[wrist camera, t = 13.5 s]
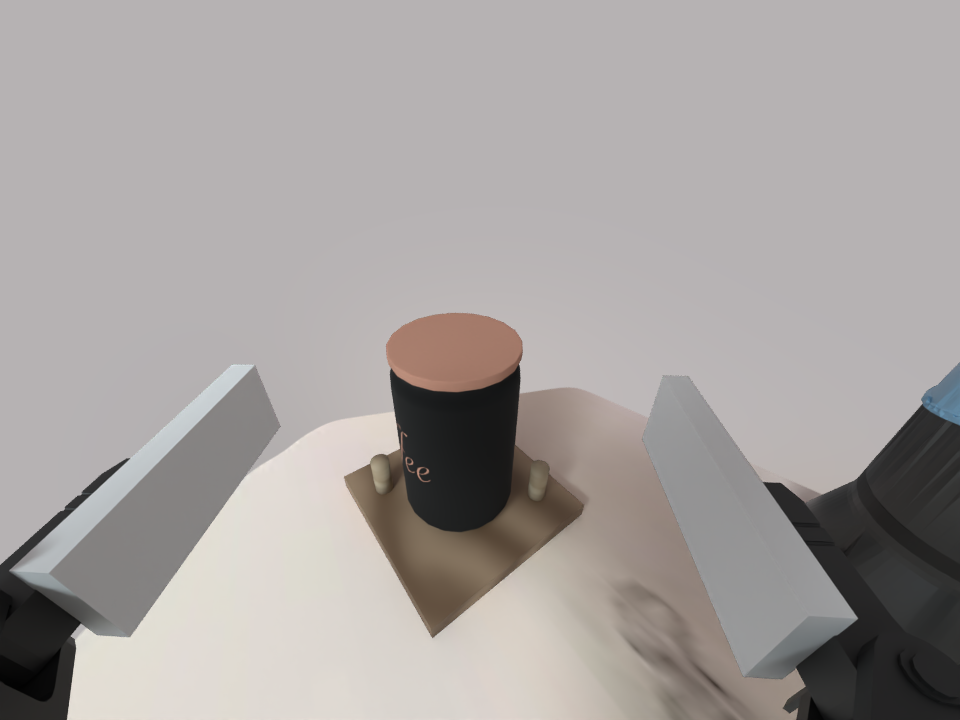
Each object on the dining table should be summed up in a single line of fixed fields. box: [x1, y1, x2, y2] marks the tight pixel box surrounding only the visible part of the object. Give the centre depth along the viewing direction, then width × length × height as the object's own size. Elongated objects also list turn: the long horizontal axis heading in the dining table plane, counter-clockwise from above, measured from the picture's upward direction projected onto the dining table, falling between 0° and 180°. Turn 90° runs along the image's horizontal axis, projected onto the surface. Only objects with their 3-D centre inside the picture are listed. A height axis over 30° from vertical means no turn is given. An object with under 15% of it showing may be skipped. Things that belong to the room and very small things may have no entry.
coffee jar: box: [386, 313, 523, 532], centre depth 34 cm, size 11×11×18 cm
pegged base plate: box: [344, 445, 584, 638], centre depth 38 cm, size 18×18×6 cm
